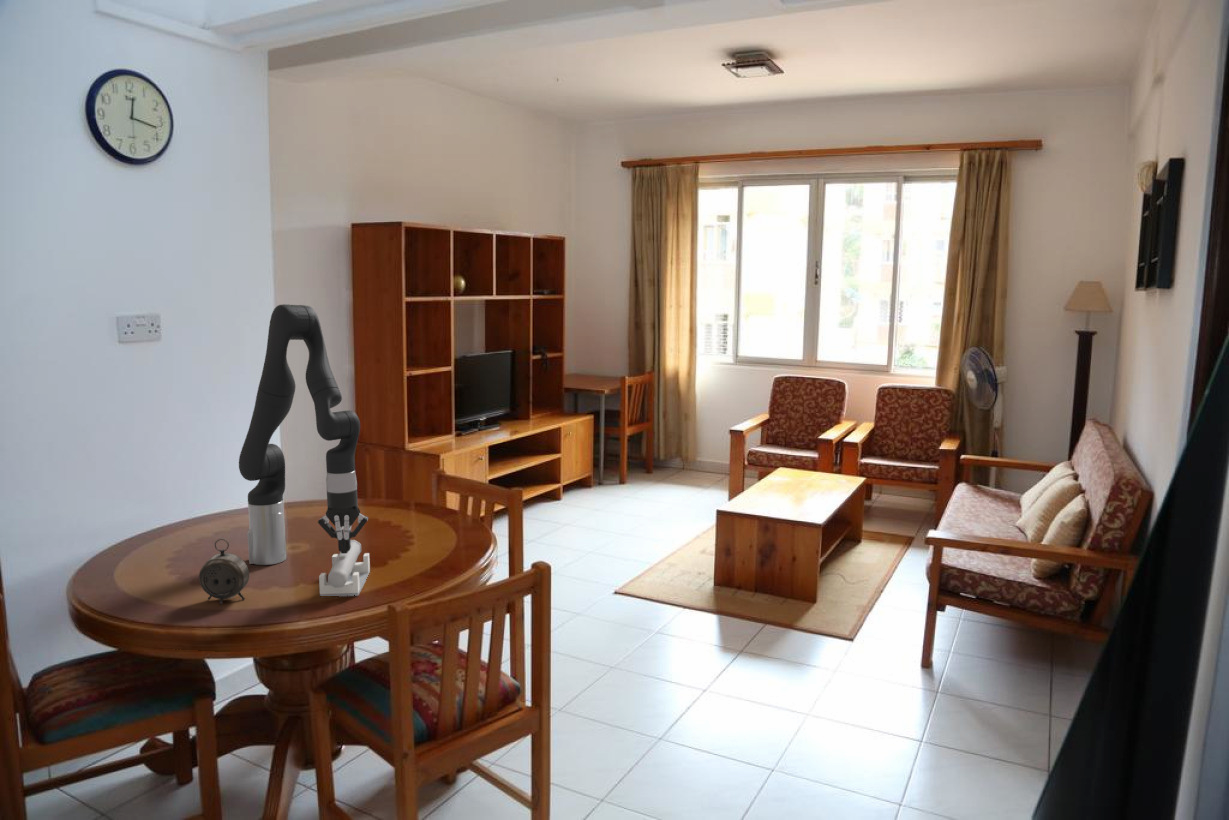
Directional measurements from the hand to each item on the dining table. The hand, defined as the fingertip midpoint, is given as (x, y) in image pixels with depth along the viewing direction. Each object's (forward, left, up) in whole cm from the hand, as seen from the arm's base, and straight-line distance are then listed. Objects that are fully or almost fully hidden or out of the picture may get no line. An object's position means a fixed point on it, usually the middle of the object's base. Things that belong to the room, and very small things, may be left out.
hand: (345, 552), depth 227 cm
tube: (0, 0, -6) cm, 6 cm away
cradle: (0, 0, -9) cm, 9 cm away
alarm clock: (-28, -9, -9) cm, 31 cm away
